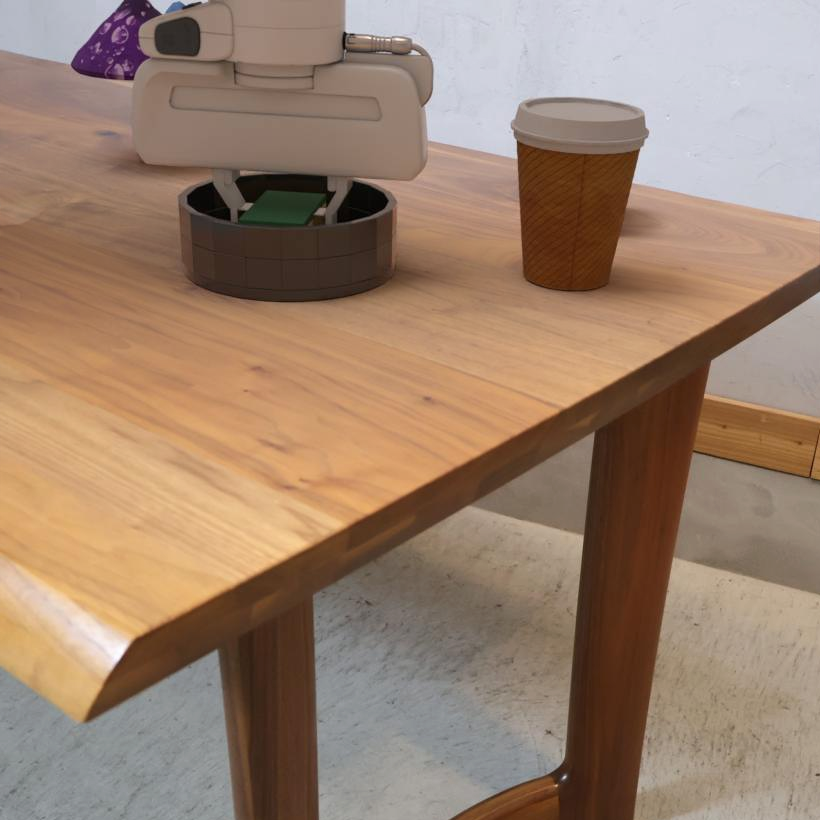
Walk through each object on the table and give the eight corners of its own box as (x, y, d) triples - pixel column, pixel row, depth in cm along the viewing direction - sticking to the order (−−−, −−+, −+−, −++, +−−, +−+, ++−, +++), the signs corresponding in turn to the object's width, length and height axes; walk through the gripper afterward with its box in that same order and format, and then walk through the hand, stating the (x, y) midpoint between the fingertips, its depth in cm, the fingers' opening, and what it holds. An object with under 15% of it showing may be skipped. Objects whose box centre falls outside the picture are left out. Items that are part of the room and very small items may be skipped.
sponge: (240, 269, 80) (238, 219, 78) (268, 237, 87) (266, 189, 85) (304, 274, 79) (303, 223, 78) (326, 241, 87) (326, 193, 85)
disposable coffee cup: (530, 249, 90) (542, 90, 84) (648, 271, 86) (668, 106, 81) (479, 283, 82) (489, 110, 76) (606, 308, 78) (625, 129, 73)
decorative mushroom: (115, 183, 102) (98, 3, 95) (59, 155, 110) (40, -13, 104) (239, 167, 109) (232, -2, 102) (178, 141, 118) (167, -16, 111)
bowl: (153, 292, 77) (147, 219, 75) (216, 229, 91) (213, 166, 89) (377, 309, 76) (378, 235, 74) (407, 243, 90) (409, 179, 87)
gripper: (439, 32, 78) (432, 230, 85) (146, 15, 80) (161, 212, 86) (429, 44, 73) (422, 256, 79) (113, 26, 74) (132, 236, 80)
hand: (284, 233), depth 82 cm, fingers closed on sponge, 4 cm apart
